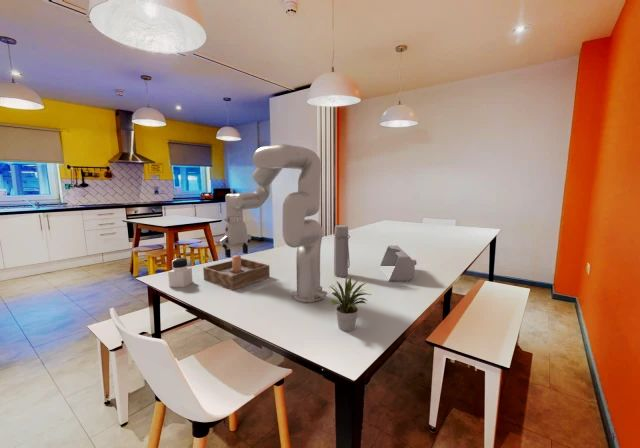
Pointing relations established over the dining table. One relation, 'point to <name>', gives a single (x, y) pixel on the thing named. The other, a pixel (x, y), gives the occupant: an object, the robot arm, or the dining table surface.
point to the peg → (236, 264)
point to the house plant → (347, 305)
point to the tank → (399, 263)
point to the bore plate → (230, 270)
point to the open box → (236, 280)
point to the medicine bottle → (180, 273)
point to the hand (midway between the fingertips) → (237, 255)
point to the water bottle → (341, 251)
